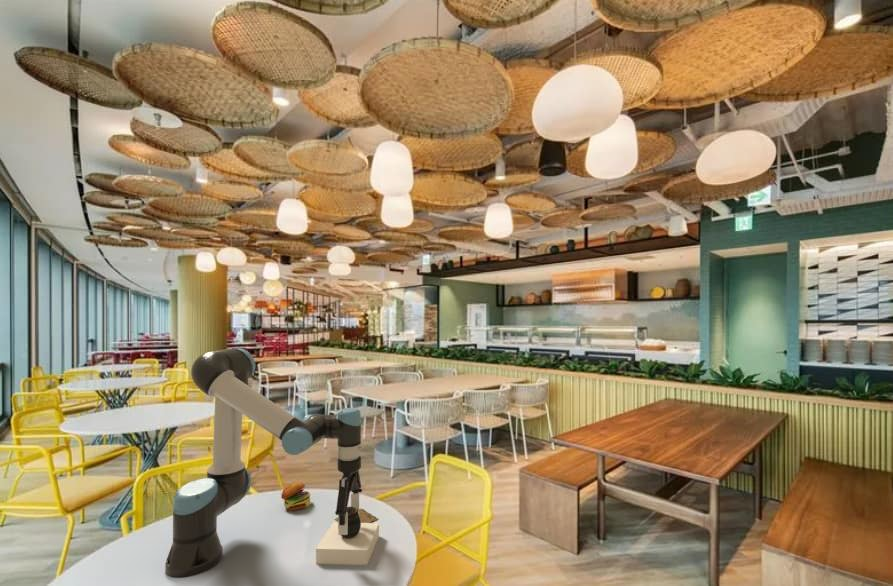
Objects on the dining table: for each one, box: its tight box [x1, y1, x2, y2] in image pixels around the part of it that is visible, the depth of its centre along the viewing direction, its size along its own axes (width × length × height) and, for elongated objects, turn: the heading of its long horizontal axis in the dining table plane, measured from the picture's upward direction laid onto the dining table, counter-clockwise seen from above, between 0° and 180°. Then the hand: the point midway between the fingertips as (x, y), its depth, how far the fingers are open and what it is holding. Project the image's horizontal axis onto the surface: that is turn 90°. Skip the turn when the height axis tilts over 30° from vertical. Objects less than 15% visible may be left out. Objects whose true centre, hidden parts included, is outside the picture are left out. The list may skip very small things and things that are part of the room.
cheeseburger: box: [280, 481, 312, 511], centre depth 164 cm, size 10×11×10 cm
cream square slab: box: [315, 521, 380, 566], centre depth 134 cm, size 16×16×5 cm
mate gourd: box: [341, 505, 361, 538], centre depth 134 cm, size 7×8×10 cm
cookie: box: [334, 508, 379, 523], centre depth 153 cm, size 12×12×1 cm
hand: (349, 523), depth 134 cm, fingers open, 13 cm apart
